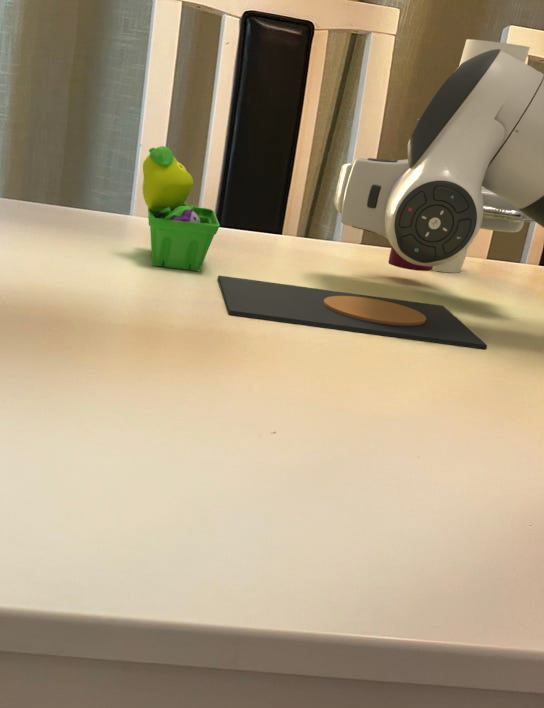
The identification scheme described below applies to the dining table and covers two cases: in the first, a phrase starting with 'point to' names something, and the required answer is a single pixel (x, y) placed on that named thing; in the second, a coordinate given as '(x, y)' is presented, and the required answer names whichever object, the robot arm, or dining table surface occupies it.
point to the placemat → (345, 311)
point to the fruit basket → (175, 214)
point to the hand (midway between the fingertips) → (429, 191)
